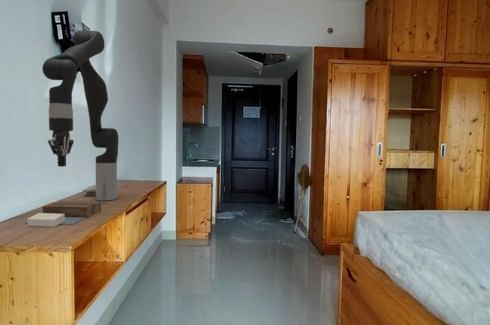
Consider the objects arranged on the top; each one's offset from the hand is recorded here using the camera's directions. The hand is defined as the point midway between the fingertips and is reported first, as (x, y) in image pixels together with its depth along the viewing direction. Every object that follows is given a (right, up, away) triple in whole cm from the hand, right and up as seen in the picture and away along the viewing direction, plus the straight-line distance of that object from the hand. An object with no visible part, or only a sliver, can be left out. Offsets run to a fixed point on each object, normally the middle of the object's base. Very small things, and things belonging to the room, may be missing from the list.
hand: (61, 166), depth 123 cm
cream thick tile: (-1, -17, -8) cm, 18 cm away
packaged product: (-5, -13, +54) cm, 56 cm away
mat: (0, -19, -3) cm, 19 cm away
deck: (0, -18, +9) cm, 20 cm away
